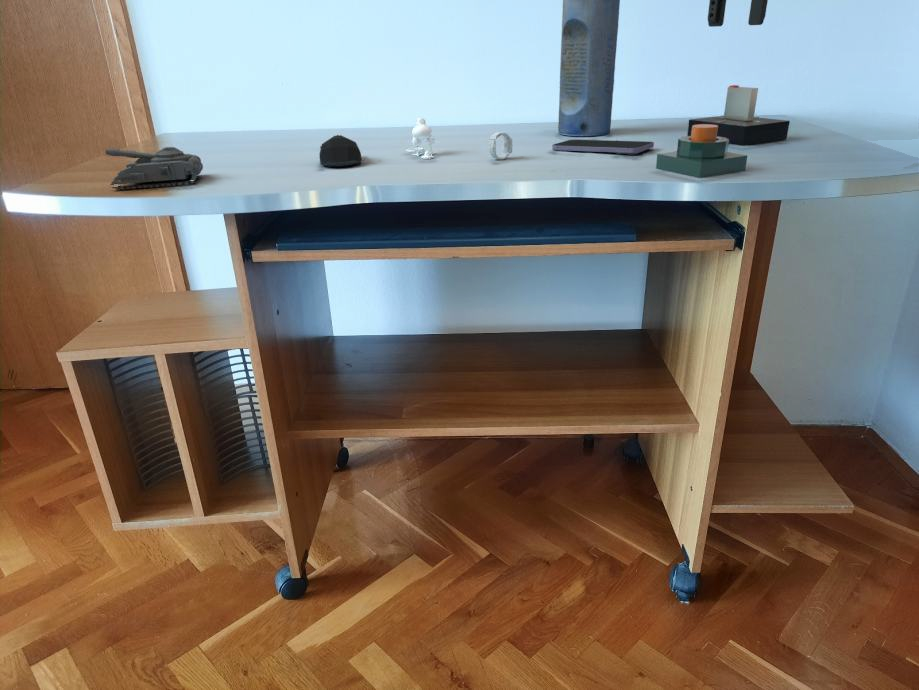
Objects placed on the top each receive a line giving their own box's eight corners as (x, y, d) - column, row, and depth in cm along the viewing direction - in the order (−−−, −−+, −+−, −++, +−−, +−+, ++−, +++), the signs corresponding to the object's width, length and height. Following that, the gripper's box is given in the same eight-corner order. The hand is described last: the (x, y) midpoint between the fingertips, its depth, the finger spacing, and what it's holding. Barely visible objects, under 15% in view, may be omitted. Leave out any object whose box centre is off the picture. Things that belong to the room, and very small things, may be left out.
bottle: (547, 134, 120) (551, -52, 107) (581, 128, 126) (589, -49, 113) (587, 138, 114) (597, -59, 101) (621, 132, 119) (634, -56, 106)
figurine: (432, 148, 110) (431, 114, 108) (439, 158, 101) (437, 121, 99) (406, 150, 109) (403, 116, 107) (410, 160, 101) (407, 123, 98)
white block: (753, 120, 105) (758, 86, 102) (747, 121, 104) (752, 86, 102) (729, 118, 109) (734, 85, 107) (723, 118, 108) (727, 85, 106)
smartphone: (571, 139, 109) (656, 141, 101) (571, 146, 110) (655, 149, 101) (549, 145, 104) (637, 148, 95) (549, 152, 104) (637, 156, 96)
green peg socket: (745, 171, 84) (750, 139, 82) (699, 178, 81) (703, 145, 79) (699, 162, 90) (703, 132, 89) (655, 168, 87) (658, 138, 86)
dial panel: (786, 139, 105) (790, 119, 103) (742, 146, 101) (745, 125, 100) (729, 132, 115) (731, 113, 113) (686, 137, 111) (689, 118, 109)
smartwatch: (493, 161, 97) (494, 133, 95) (485, 159, 98) (485, 132, 97) (512, 158, 99) (513, 131, 97) (504, 157, 100) (504, 130, 98)
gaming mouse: (357, 152, 110) (355, 127, 108) (363, 167, 97) (360, 139, 95) (320, 154, 109) (317, 130, 107) (320, 170, 96) (317, 142, 94)
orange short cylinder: (721, 142, 83) (723, 125, 82) (703, 144, 82) (705, 128, 81) (703, 139, 86) (705, 123, 85) (685, 141, 85) (686, 125, 84)
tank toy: (107, 193, 86) (96, 153, 84) (122, 180, 94) (112, 143, 92) (201, 185, 89) (192, 146, 86) (207, 173, 97) (200, 137, 95)
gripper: (740, -113, 83) (721, 26, 90) (812, -107, 89) (789, 23, 96) (695, -102, 89) (682, 27, 96) (766, -97, 95) (748, 25, 102)
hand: (735, 25), depth 96 cm, fingers open, 8 cm apart
